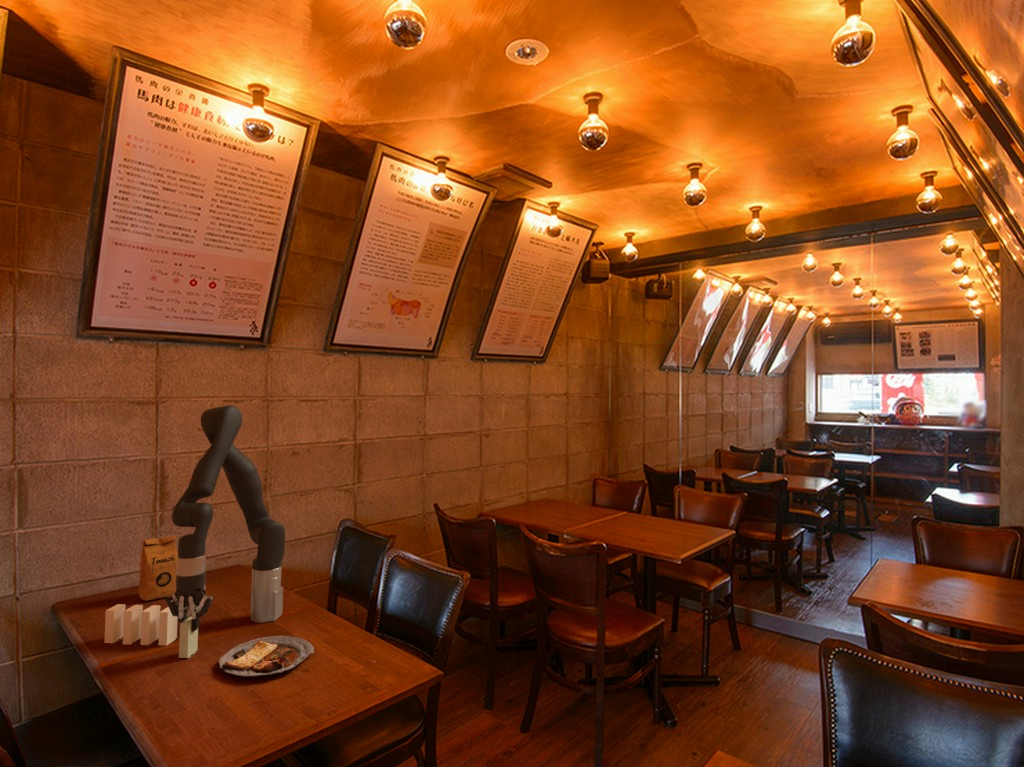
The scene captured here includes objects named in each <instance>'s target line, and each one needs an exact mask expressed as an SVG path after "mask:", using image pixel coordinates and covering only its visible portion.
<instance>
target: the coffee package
mask: <svg viewBox="0 0 1024 767" xmlns="http://www.w3.org/2000/svg"><path fill="white" fill-rule="evenodd" d="M177 559H178V547H177V544H176V535H171V536H164V537H157V538H156V537H155V538H150V539H144V540H143V542H142V548H141V554H140V564H139V581H138V582H139V583H138V597H139V598H140V599H141V600H142V601H145V602H147V601H151V600H158V599H163V597H165V598H167V596H170V595H174V594H175V592H176V564H177ZM157 598H158V599H157Z"/></svg>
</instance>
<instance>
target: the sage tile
mask: <svg viewBox="0 0 1024 767" xmlns="http://www.w3.org/2000/svg"><path fill="white" fill-rule="evenodd" d="M191 619H192V617H189V618H188V619H186V620H185V621H184V622H182V623H180V629H179V644H178V659H179V658H188V659H189V658H191V657H192V656H193V655H194V654H195V653H197V652H198V643H199V642H198V641H199V639H198V638H199V628H197V630H196V631H194V632H191ZM196 651H197V652H196ZM192 654H193V655H192ZM191 655H192V656H191Z"/></svg>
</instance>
